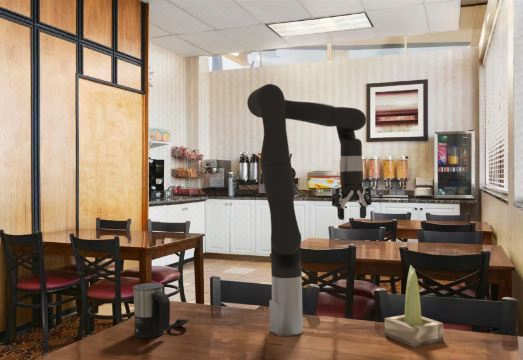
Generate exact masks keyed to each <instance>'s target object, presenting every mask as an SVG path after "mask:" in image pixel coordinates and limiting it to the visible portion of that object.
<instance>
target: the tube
mask: <svg viewBox="0 0 523 360" xmlns="http://www.w3.org/2000/svg"><path fill="white" fill-rule="evenodd" d="M408 269H409V270H408V274H407V278H406V280H407V281H406V287H405V289H406V290H405V300H404V301H405V302H404V315H405V318H404V323H407V324H410V325H412V326H417V325H422V322H421V316H422V309H421V297H420V289H419V282H418V276H417V273H416V269H415V268H414V267H413V266H412V265H411V264H410V265H409V268H408Z"/></svg>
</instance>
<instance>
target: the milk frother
mask: <svg viewBox="0 0 523 360" xmlns="http://www.w3.org/2000/svg"><path fill="white" fill-rule="evenodd" d="M163 287H164V284H162V283H159V282H151V283H150V282H148V283H147V282H146V283H140V284H136V285H133V286H132V289H133V309H134V333H133V336H134V337H135V338H138V339H139V338H140V339H149V338H151V339H152V338H156V337H160V336H163V335H164V334H165V331H168V330H169V331H170V330H172V329H174V328H176V327H177V328H179V327H180V328H182V327H183V326H184V325H186V324H187V323H188V322H190V320H191V319H190V318H185V319H184V318H177V319H176V320H175V321H174V323H173V322H172V324H171V323H170V321H171V320H170V318H171V301H170V298H169V296H168V295H167V294H166V293H165V292H163Z"/></svg>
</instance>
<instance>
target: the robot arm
mask: <svg viewBox="0 0 523 360" xmlns="http://www.w3.org/2000/svg"><path fill="white" fill-rule="evenodd" d="M246 103H247V104H246V105H247V108H248V110H249V112H250V113H251V114H252V115H253V116H255V117H257V118H261V119H262V126H263V140H262V145H261V150H260V152H261V153H260V160H259V161H260V170H261V171H260V172H261V177H262V182H263V186H264V187H263V188H264V192H265V196H266V199H267V203H268V208H269V215H270V232H271V233H270V256H271V257H270V258H271V259H270V260H271V261H270V263H271V264H270V266H271V267H270V268H271V269H270V271H271V273H270V274H271V299H270V300H269V301H268V302H269V307H268V308H269V331H270V332H271V333H273V334H275V335H277V336H278V337H280V336H282V337H283V336H284V337H285V336H288V337H289V336H290V337H291V336H296V335H300V334H302V333H303V327H304V326H303V280H302V279H303V277H302V270H303V266H302V256H301V255H302V247H301V246H302V234H301V232H300V228H299V225H298V220H297V216H296V211H295V201H294V200H295V199H294V198H295V197H294V195H295V194H294V192H295V191H294V176H293V175H294V174H293V167H292V163H291V162H292V161H291V156H290V155H291V154H290V146H289V142H288V141H289V140H288V133H287V120H293V121H299V122H303V123H304V122H305V123H308V124H309V123H310V124H314V125H318V126H321V127H322V126H323V127H330V128H332V127H335V128H336V132H337V137H338V139H339V144H340V160H339V180H340V181H339V183H340V188H339V187H333V188H332V190H331V195H332V196H331V206H332V207H335V208H337V209H336V210H337V218H338V220H340V221H344V220H345V208H344V207H345V205H346V204H347V203H348V202H352V201H353V202H357V203H358V205H359V219H366V217H367V207H368V206H371V205H372V189H371V187H370V186H363V184H364V161H363V145H362V140H361V139H360V138H357V137H356V133H355V131H360V130H362V129H363V128H364V126H365V125H366V123H367V116H366V114H365V113H364V112H363V111H362V110H361V109H359V108H355V107H348V106H337V105H336V106H335V105H332V104H328V103H324V102H319V101H311V100H293V99H286V98H285V95H284V92H283V90H282V89H281V88H280V87H279V86H278V85H277V84H273V83H266V84H264V85H262V86H261V87H258V88H257V89H255V90H253V91H252V92H251V93H250V94H249V96H248V97H247V101H246Z"/></svg>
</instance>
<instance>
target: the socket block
mask: <svg viewBox="0 0 523 360" xmlns="http://www.w3.org/2000/svg"><path fill="white" fill-rule="evenodd" d="M404 318H405V314H401V315H396V316H395V315H394V316H391V317H390V316H389V317H385V318H384V336H386V337H388V338H391V339H393V340H396V341H397V342H400V343H402V344H406V345H407V346H410V347H412V348H417V347H422V346H426V345H431V344H436V343H438V342H444V323H443V322H441V321H439V320H438V321H437V320H435V319H431V318H427V317H425V316H422V315H421V322H422V325H417V326H412V325H410V324H407V323H404Z"/></svg>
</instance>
